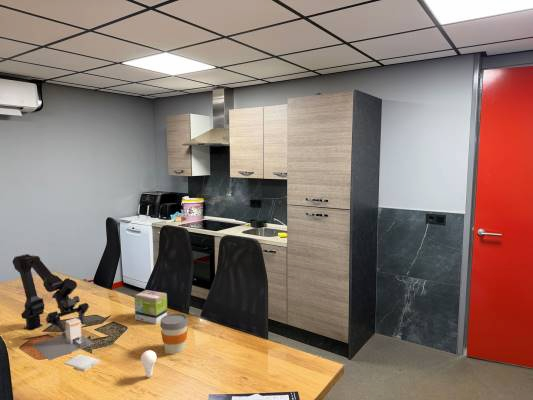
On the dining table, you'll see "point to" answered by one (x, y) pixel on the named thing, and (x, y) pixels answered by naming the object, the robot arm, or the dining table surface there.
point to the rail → (76, 341)
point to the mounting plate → (59, 346)
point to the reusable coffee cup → (174, 332)
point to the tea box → (150, 306)
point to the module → (73, 330)
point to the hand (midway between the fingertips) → (73, 327)
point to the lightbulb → (148, 362)
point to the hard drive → (82, 362)
